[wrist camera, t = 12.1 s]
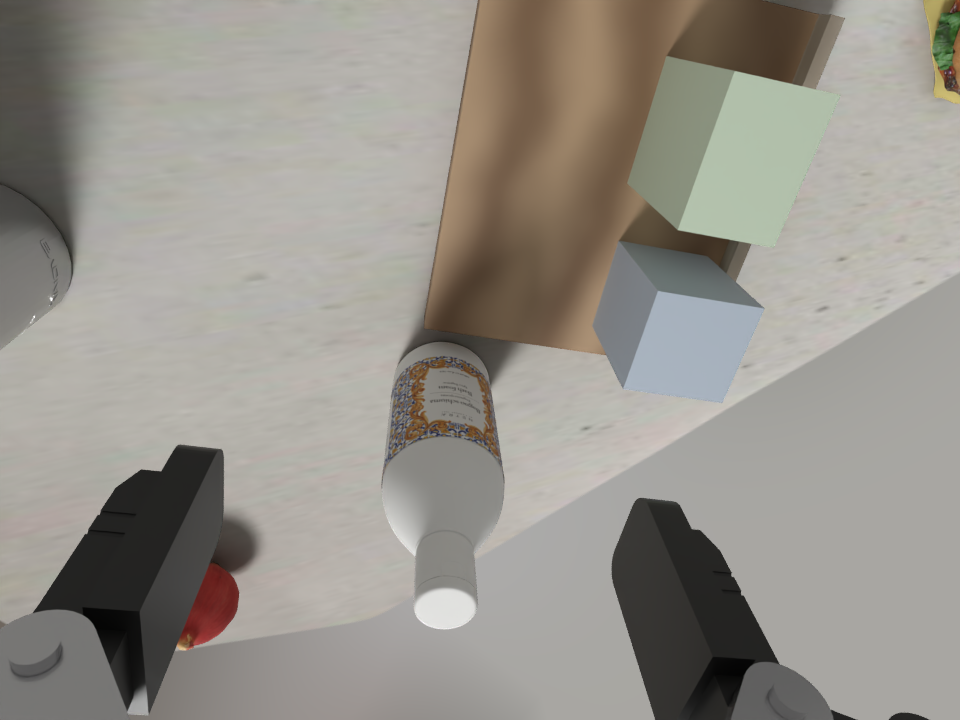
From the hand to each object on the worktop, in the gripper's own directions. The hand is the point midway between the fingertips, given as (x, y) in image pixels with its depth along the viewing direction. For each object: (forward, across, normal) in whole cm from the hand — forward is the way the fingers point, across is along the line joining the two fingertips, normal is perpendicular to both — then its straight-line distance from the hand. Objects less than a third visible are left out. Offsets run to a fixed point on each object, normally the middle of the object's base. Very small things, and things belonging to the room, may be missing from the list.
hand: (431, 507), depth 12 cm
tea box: (+28, -14, -5) cm, 32 cm away
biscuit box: (+28, -15, +5) cm, 32 cm away
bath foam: (+30, -3, +15) cm, 34 cm away
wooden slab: (+30, -10, -1) cm, 32 cm away
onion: (+30, +13, +36) cm, 49 cm away
